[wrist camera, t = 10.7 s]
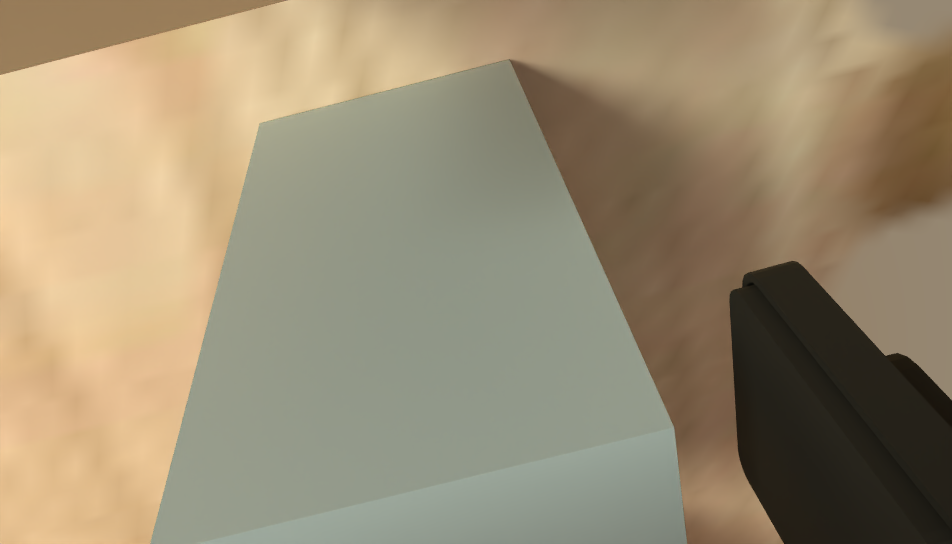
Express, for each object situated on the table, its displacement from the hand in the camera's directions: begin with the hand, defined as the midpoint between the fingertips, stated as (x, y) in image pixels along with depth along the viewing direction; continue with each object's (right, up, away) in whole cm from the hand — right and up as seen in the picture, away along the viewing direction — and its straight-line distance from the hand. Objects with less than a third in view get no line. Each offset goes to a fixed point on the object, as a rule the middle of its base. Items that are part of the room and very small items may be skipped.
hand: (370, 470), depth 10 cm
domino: (0, +5, +7) cm, 8 cm away
